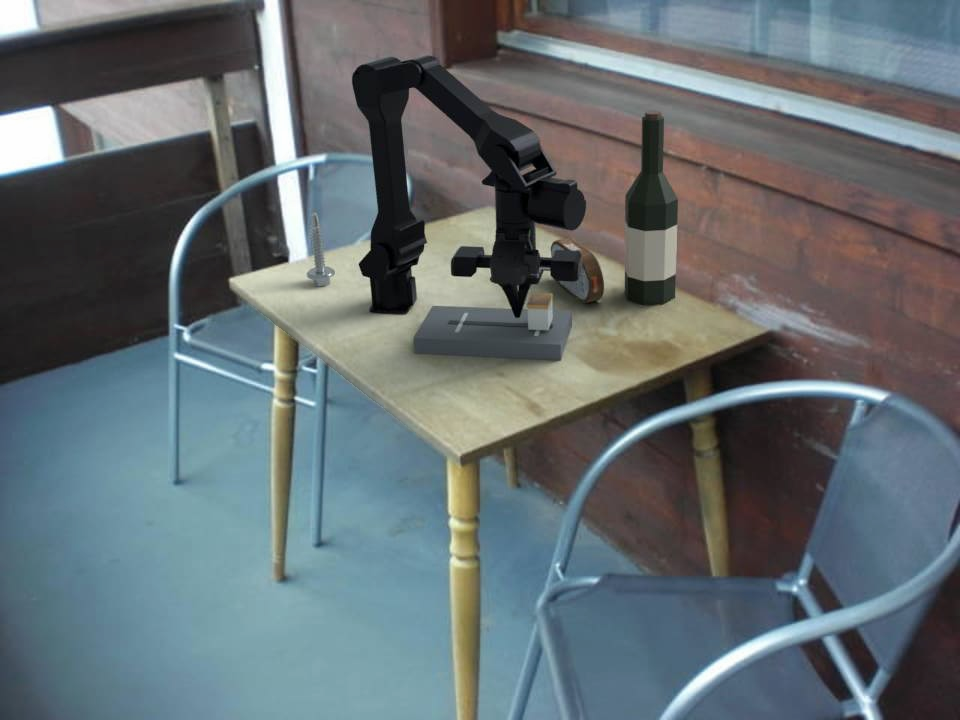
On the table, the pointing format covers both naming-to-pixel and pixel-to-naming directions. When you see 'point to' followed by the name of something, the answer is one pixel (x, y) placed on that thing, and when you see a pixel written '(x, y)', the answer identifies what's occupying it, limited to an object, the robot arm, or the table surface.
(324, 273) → the screw
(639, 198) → the wine bottle
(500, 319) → the fader board
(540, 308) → the fader
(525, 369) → the table surface
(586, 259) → the tin
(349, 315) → the table surface
